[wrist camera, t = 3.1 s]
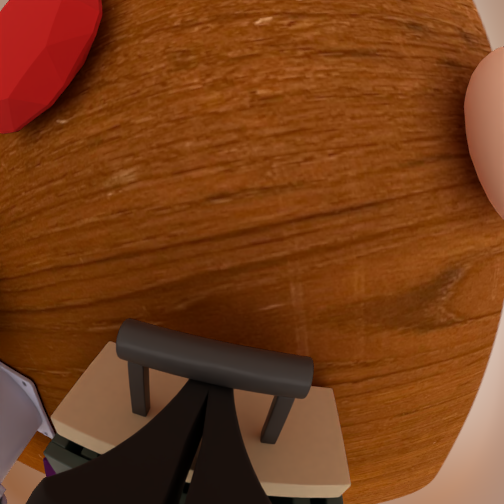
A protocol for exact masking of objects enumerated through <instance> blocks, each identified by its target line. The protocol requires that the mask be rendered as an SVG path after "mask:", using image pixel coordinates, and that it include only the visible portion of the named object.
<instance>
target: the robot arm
mask: <svg viewBox="0 0 504 504" xmlns="http://www.w3.org/2000/svg"><path fill="white" fill-rule="evenodd" d="M36 431H39V432H41V433H42V434H44V435H46V436H48V437H49V438H51V439H53V437H54V436H55V433H54V431H53V429H52V427H51V425H50V422H49V420H48V418H47V415H46V413H45V411H44V408H43V406H42V403H41V401H40V398H39V395H38V393H37V390H36V387H35V385H34V383H33V382H32V381H31V380H30V379H28V378H26V377H24V376H23V375H21V374H19V373H18V372H16V371H14V370H13V369H11V368H9V367H8V366H6V365H5V364H3V363H2V362H0V504H7V499H6V497H5V495H4V492H5V490H6V489H5V488H4V487H3V486H2V485H1V483H2V481H3V480H4V478H5V476H6V475H7V474H8V472H9V470H10V469H11V467H12V466H13V464H14V463H15V462H16V460H17V459H18V457H19V456H20V454H21V453H22V451H23V450H24V448H25V447H26V446H27V444H28V443H29V441H30V440H31V438H32V437H33V436H34V434H35V433H36ZM201 438H202V442H201V447H200V450H199V454H198V458H197V461H196V465H195V468H194V472H193V475H192V479H191V482H190V486H189V489H188V493H187V496H186V500H185V503H184V504H272V503H271V501H270V500H269V498H268V496H267V495H266V493H265V491H264V489H263V488H262V486H261V484H260V482H259V480H258V477H257V475H256V473H255V471H254V469H253V466H252V464H251V461H250V459H249V456H248V454H247V451H246V448H245V445H244V441H243V438H242V435H241V431H240V427H239V423H238V418H237V414H236V408H235V401H234V389H233V388H228V387H223V386H219V385H214V384H209V383H205V382H200V381H196V380H192V379H189V380H188V381H187V382H186V384H185V385H184V386H183V387H182V389H181V390H180V391H179V392H178V393H177V395H176V396H175V397H174V398H173V399H172V400H171V401H170V402H169V403H168V404H167V405H166V406H165V407H164V408H163V409H162V410H161V411H160V412H159V413H158V414H157V415H156V416H155V417H154V418H153V419H152V420H150V421H149V422H148V423H147V424H146V425H145V426H144V427H142V428H141V429H140V430H139V431H137V432H136V433H135V434H133V435H132V436H131V437H129V438H128V439H126V440H125V441H123V442H122V443H120V444H119V445H117V446H116V447H114V448H112V449H111V450H109V451H107V452H106V453H104V454H102V455H100V456H98V457H96V458H94V459H92V460H90V461H88V462H86V463H84V464H82V465H79V466H77V467H75V468H72V469H69V470H66V471H64V472H61V473H58V474H55V475H52V476H48V477H45V478H44V479H43V480H42V481H41V482H40V483H39V484H38V486H37V487H36V488H35V489H34V491H33V492H32V494H31V496H30V497H29V499H28V501H27V503H26V504H179V503H180V499H181V495H182V491H183V487H184V484H185V481H186V478H187V476H188V473H189V470H190V468H191V465H192V462H193V460H194V457H195V454H196V452H197V449H198V446H199V443H200V441H201Z"/></svg>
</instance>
